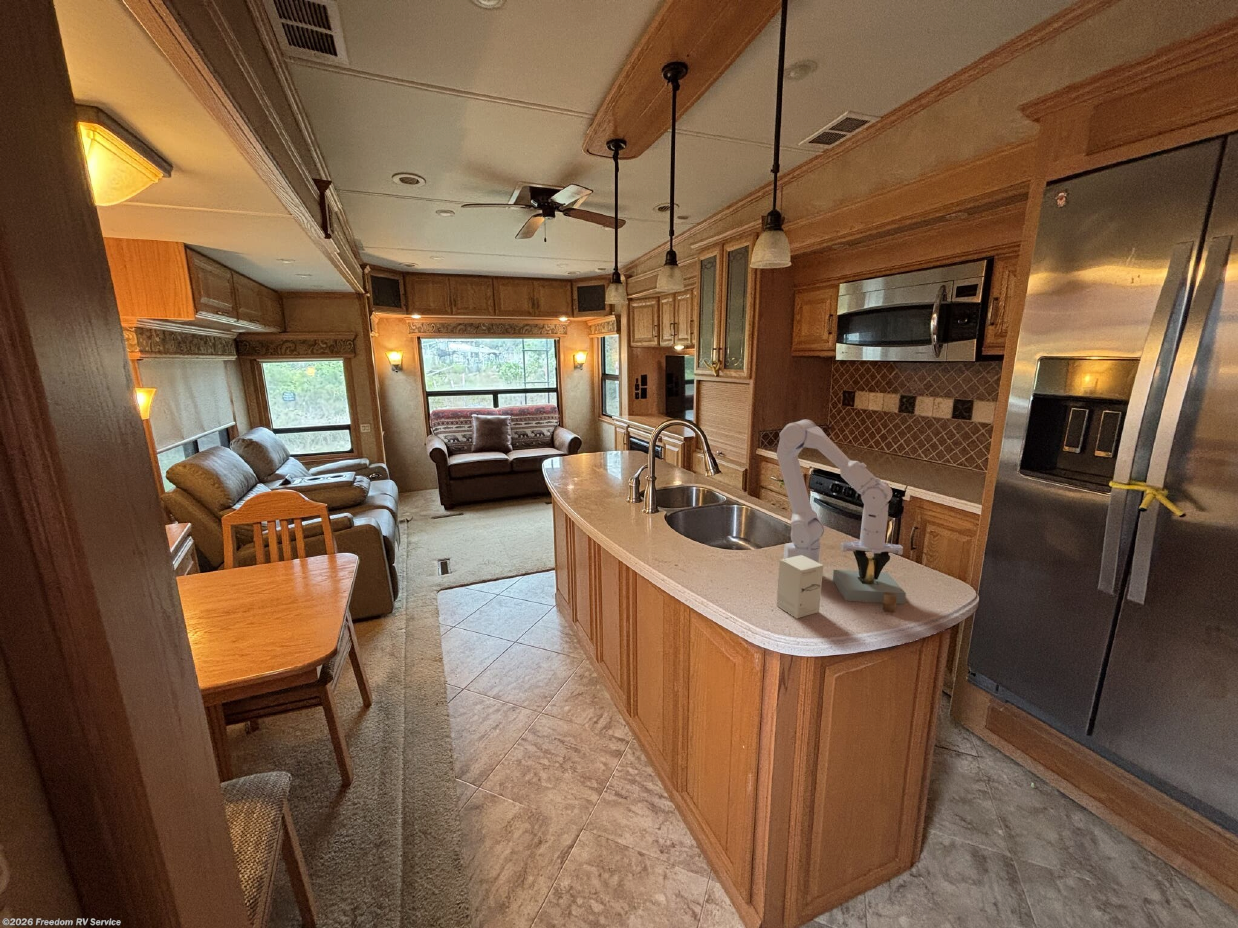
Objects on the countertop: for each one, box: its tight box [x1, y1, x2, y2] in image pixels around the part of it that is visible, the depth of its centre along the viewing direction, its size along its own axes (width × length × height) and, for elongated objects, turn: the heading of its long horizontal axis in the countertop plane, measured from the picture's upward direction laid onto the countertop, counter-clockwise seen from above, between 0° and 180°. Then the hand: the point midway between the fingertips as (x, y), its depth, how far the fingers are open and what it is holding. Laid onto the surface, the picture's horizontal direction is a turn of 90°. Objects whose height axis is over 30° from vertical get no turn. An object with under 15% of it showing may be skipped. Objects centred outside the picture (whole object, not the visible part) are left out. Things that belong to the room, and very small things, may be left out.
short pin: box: [881, 592, 897, 614], centre depth 119 cm, size 3×3×4 cm
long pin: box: [862, 555, 877, 585], centre depth 128 cm, size 3×3×9 cm
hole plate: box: [832, 569, 907, 605], centre depth 129 cm, size 14×12×3 cm
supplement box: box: [776, 555, 824, 619], centre depth 119 cm, size 7×7×13 cm
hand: (868, 577), depth 128 cm, fingers closed on long pin, 3 cm apart
